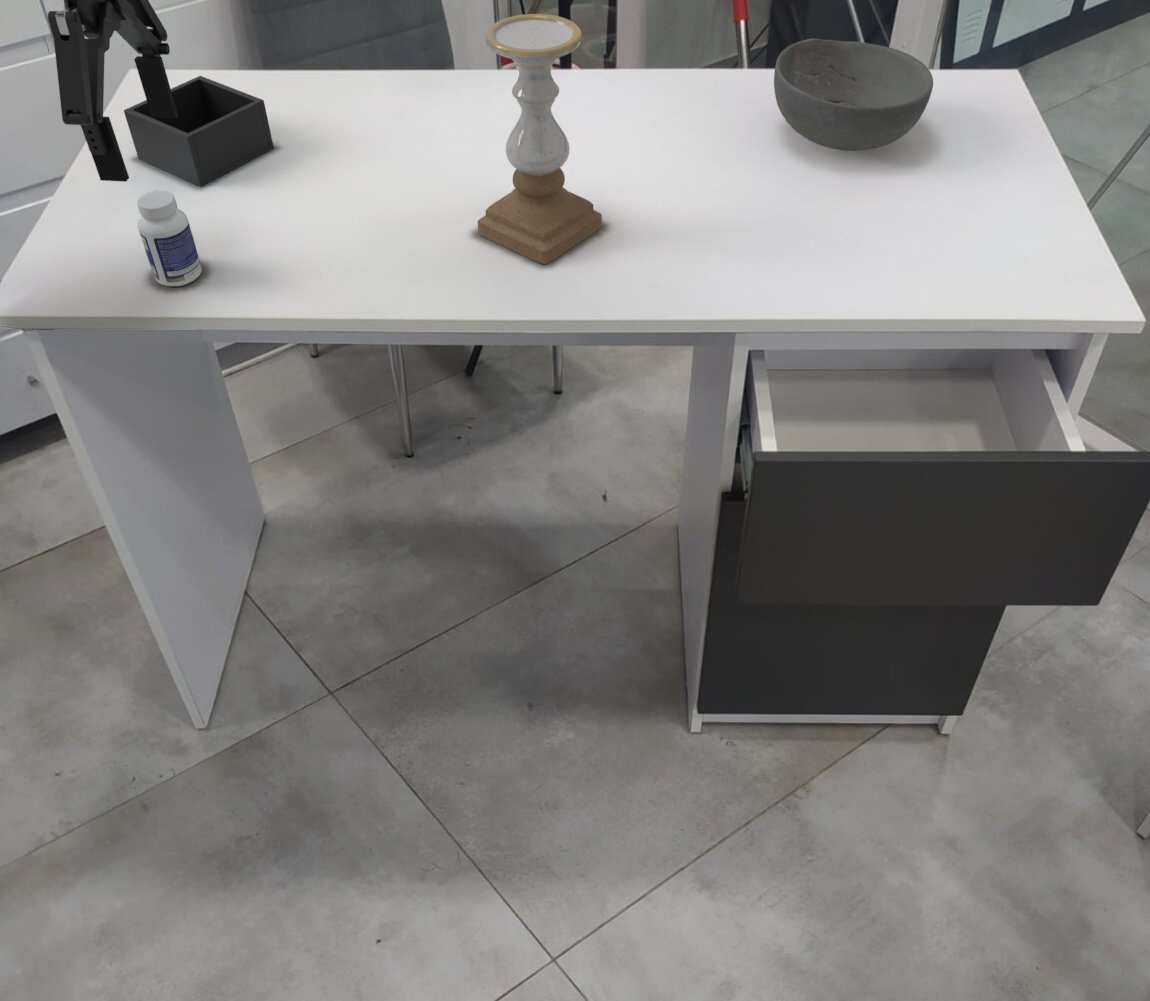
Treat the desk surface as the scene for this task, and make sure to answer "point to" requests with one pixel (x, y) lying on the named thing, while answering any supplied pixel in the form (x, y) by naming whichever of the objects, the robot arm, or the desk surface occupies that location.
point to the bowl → (850, 92)
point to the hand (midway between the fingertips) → (141, 147)
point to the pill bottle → (167, 239)
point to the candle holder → (537, 146)
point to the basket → (202, 131)
